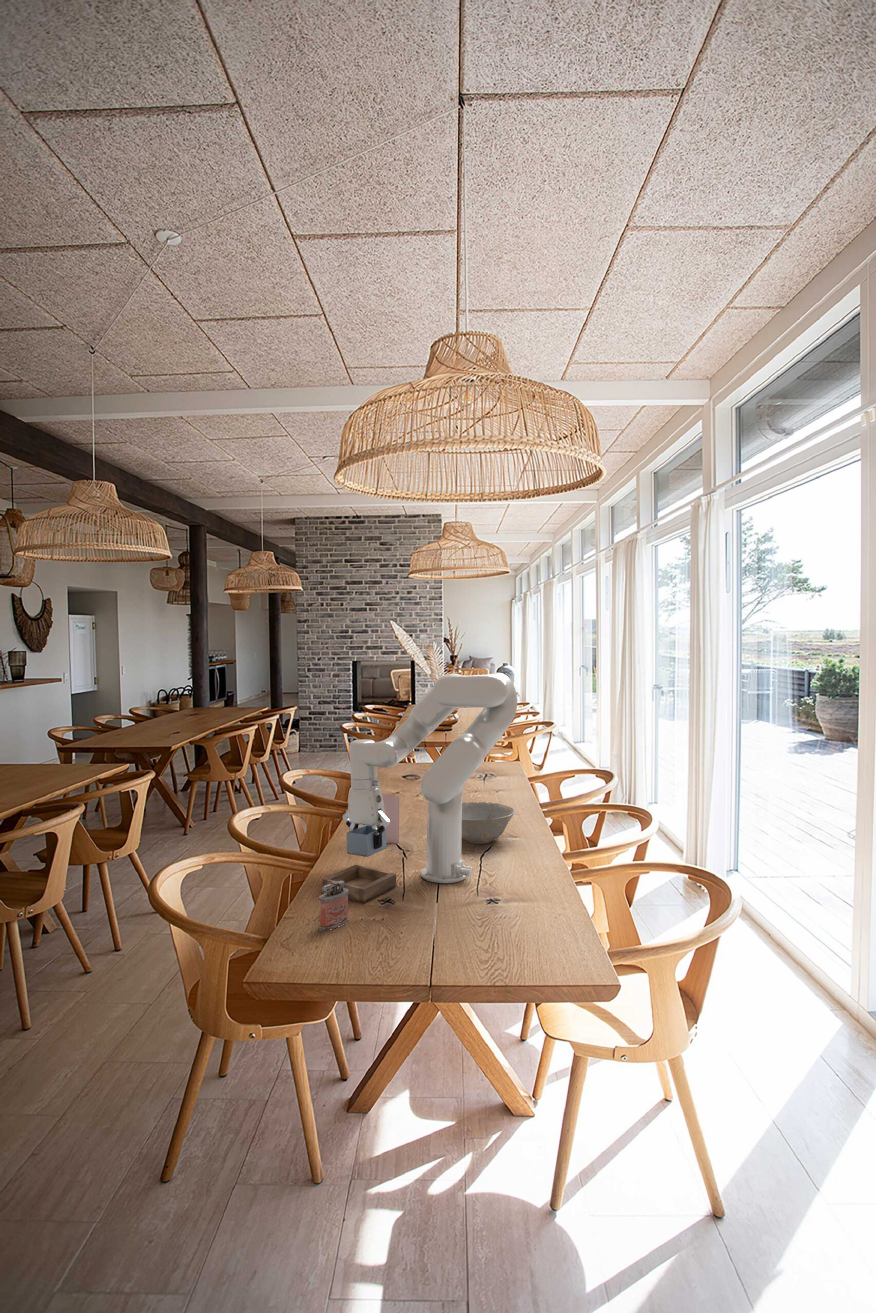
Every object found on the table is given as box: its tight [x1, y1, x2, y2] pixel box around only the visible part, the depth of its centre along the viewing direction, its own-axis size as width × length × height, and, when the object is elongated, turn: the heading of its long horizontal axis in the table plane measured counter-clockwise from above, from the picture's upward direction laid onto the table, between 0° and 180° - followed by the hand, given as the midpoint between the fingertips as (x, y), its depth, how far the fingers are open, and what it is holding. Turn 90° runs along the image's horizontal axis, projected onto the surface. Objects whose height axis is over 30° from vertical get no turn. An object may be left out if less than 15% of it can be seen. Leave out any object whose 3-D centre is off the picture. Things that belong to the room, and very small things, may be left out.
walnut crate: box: [322, 864, 397, 904], centre depth 187 cm, size 14×14×4 cm
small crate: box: [346, 825, 388, 858], centre depth 202 cm, size 7×9×6 cm
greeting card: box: [362, 792, 400, 844], centre depth 229 cm, size 11×7×15 cm, turn 56°
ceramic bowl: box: [462, 801, 515, 845], centre depth 232 cm, size 22×23×10 cm
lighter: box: [318, 881, 349, 932], centre depth 164 cm, size 8×3×10 cm, turn 141°
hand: (366, 845), depth 202 cm, fingers closed on small crate, 7 cm apart
